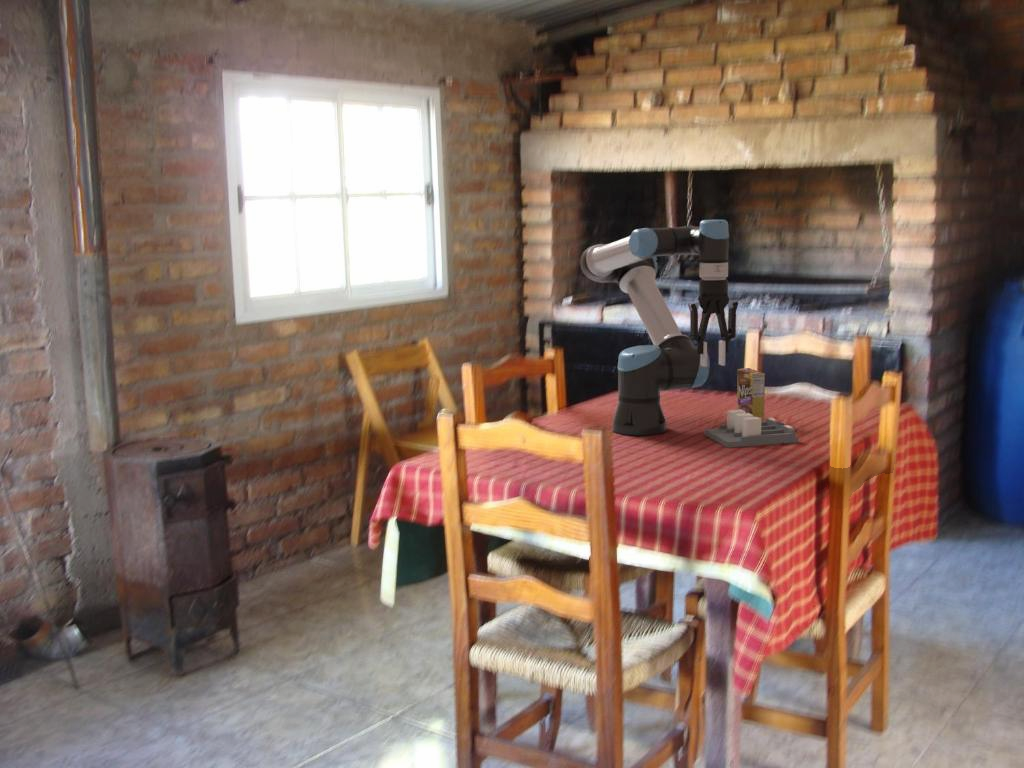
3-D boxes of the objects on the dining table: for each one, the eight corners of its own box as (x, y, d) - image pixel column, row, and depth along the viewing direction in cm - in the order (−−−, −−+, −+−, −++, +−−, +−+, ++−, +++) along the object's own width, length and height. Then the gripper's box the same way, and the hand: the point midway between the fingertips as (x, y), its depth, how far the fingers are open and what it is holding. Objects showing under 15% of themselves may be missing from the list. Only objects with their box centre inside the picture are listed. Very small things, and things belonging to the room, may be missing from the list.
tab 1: (731, 430, 298) (731, 412, 297) (727, 428, 301) (727, 410, 300) (745, 429, 299) (745, 411, 298) (740, 427, 302) (741, 409, 301)
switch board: (727, 447, 286) (727, 433, 285) (704, 434, 301) (704, 421, 301) (798, 442, 290) (798, 428, 289) (772, 429, 305) (772, 416, 305)
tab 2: (739, 434, 293) (739, 416, 292) (734, 432, 296) (734, 413, 295) (753, 433, 294) (753, 415, 293) (748, 431, 297) (748, 413, 296)
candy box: (735, 420, 318) (736, 368, 316) (749, 419, 319) (750, 367, 317) (751, 426, 310) (752, 373, 307) (764, 425, 311) (765, 372, 308)
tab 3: (746, 438, 288) (747, 419, 287) (742, 436, 291) (742, 417, 290) (761, 437, 289) (761, 418, 288) (756, 435, 292) (756, 416, 291)
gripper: (687, 281, 286) (686, 369, 290) (750, 278, 289) (749, 365, 293) (677, 278, 293) (676, 365, 297) (738, 276, 296) (737, 361, 301)
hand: (712, 365), depth 295 cm, fingers open, 4 cm apart
